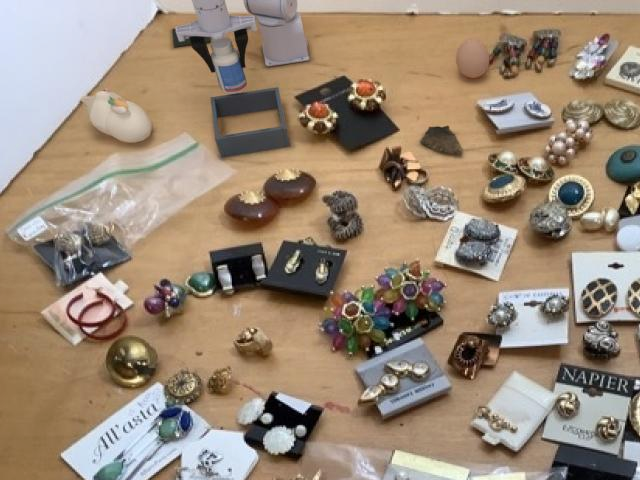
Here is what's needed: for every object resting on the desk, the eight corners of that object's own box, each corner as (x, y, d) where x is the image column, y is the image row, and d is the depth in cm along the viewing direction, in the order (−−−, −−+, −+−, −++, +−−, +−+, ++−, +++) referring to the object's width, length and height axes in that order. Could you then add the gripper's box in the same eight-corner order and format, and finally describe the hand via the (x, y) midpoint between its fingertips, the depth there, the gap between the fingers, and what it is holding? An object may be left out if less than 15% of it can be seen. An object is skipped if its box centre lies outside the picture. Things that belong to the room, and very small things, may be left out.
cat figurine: (143, 102, 154) (79, 72, 156) (124, 140, 154) (60, 110, 156) (169, 121, 163) (109, 93, 166) (151, 157, 163) (91, 128, 166)
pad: (208, 25, 186) (208, 24, 185) (210, 42, 182) (210, 41, 182) (172, 30, 184) (172, 29, 184) (174, 47, 181) (173, 46, 180)
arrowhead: (460, 160, 160) (460, 154, 158) (416, 145, 162) (416, 140, 161) (476, 139, 163) (476, 134, 162) (433, 125, 166) (433, 120, 165)
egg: (463, 62, 179) (463, 27, 172) (494, 69, 177) (494, 34, 170) (451, 80, 175) (450, 45, 168) (482, 88, 173) (482, 53, 167)
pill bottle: (253, 84, 163) (241, 40, 156) (235, 98, 161) (222, 54, 153) (233, 75, 165) (220, 31, 157) (214, 89, 162) (200, 44, 154)
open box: (282, 105, 169) (278, 86, 165) (290, 146, 161) (286, 127, 158) (216, 115, 167) (210, 97, 163) (221, 157, 159) (215, 139, 156)
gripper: (169, 19, 145) (191, 85, 156) (251, 7, 147) (267, 73, 158) (167, -2, 149) (189, 64, 160) (247, -13, 151) (263, 52, 162)
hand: (228, 67), depth 159 cm, fingers closed on pill bottle, 5 cm apart
